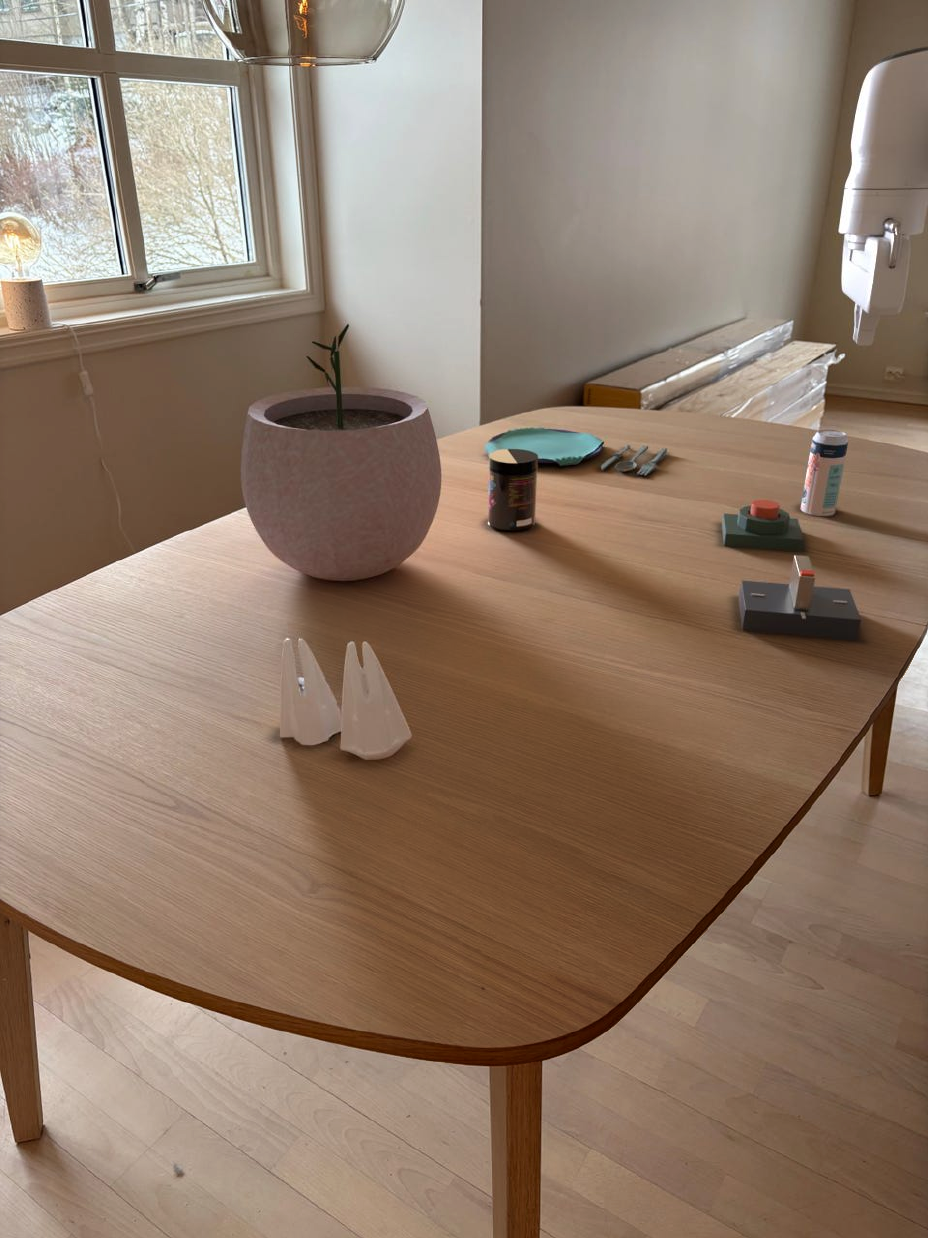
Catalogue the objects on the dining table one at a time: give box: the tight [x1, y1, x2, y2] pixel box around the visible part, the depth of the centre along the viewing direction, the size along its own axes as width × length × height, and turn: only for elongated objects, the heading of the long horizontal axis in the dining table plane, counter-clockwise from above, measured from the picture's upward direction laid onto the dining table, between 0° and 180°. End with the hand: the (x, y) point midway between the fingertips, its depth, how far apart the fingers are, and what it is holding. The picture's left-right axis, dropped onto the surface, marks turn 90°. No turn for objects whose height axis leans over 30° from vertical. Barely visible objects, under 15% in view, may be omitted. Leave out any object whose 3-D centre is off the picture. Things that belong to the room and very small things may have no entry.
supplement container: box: [487, 449, 539, 534], centre depth 132 cm, size 7×7×10 cm
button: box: [750, 499, 780, 519], centre depth 128 cm, size 4×4×2 cm
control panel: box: [738, 580, 862, 642], centre depth 107 cm, size 12×10×3 cm
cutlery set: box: [484, 426, 668, 477], centre depth 163 cm, size 20×30×2 cm, turn 64°
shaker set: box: [279, 638, 412, 761], centre depth 83 cm, size 12×4×11 cm, turn 64°
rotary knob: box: [788, 554, 816, 611], centre depth 105 cm, size 6×2×4 cm, turn 168°
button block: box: [721, 505, 805, 553], centre depth 129 cm, size 10×8×4 cm
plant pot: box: [240, 323, 442, 582], centre depth 114 cm, size 24×24×30 cm
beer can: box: [800, 429, 849, 517], centre depth 137 cm, size 5×5×12 cm
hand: (862, 343), depth 112 cm, fingers closed
